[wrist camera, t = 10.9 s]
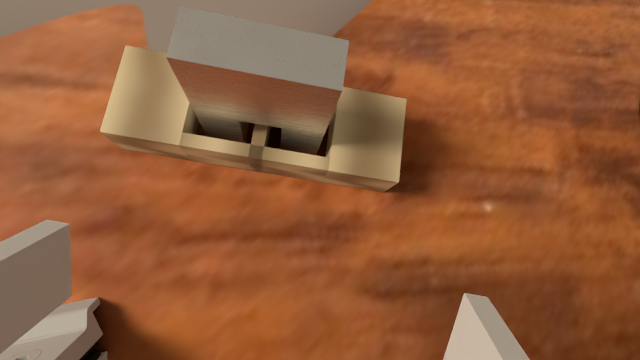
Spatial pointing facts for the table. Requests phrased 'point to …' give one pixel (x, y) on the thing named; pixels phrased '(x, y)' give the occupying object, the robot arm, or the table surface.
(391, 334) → the table surface
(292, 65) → the grey notched block
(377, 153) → the beige open box
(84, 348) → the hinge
